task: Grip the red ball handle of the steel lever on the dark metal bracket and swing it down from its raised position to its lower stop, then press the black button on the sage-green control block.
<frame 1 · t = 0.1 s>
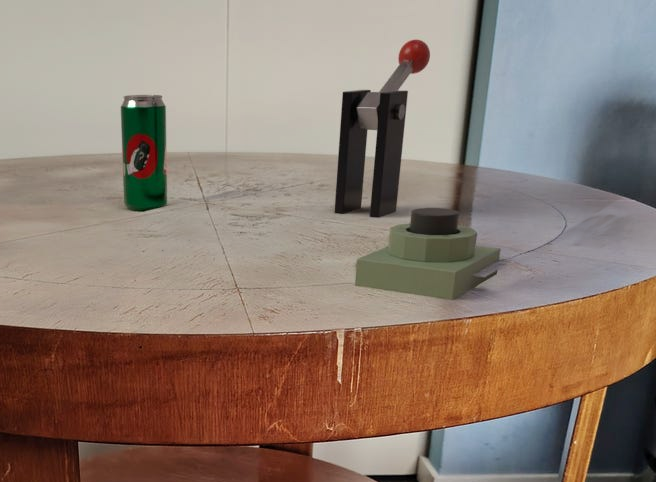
soda can: (145, 209, 106), on the table
bracket: (364, 224, 95), on the table
lever: (394, 82, 92), point 13 cm above the table, hinge at 28.0°
control block: (427, 281, 73), on the table
button: (433, 223, 70), point 5 cm above the table, slide at 0.2 cm
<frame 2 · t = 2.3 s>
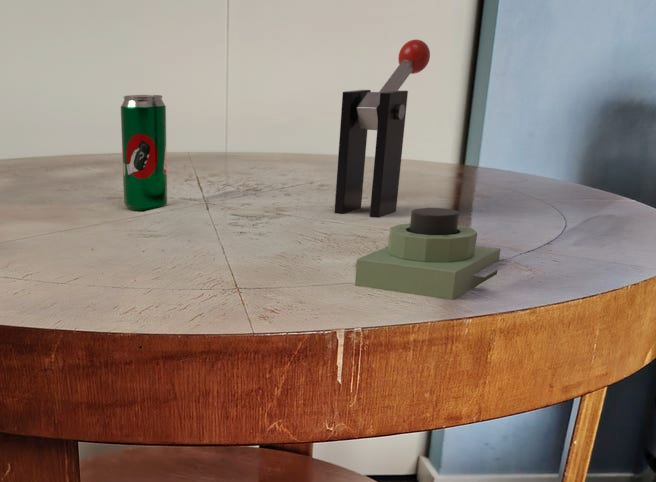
nothing on the table moved.
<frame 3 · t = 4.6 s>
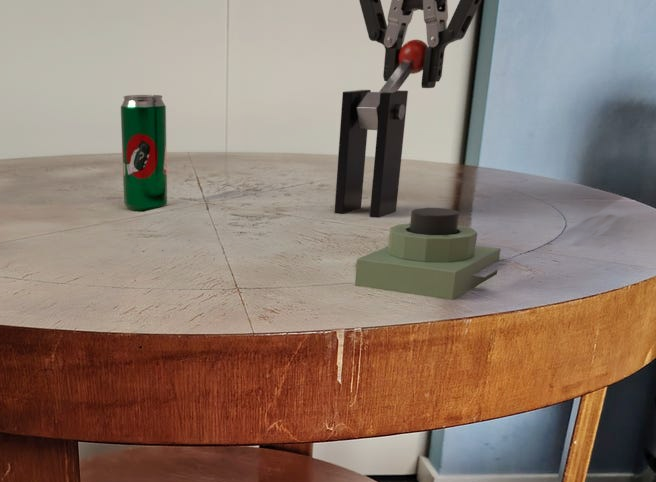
hand: (410, 86, 95), 13 cm above the table, tool pointing down, fingers closed on lever, 3 cm apart
lever: (394, 82, 92), point 13 cm above the table, hinge at 28.0°, touching gripper
everything else where it was.
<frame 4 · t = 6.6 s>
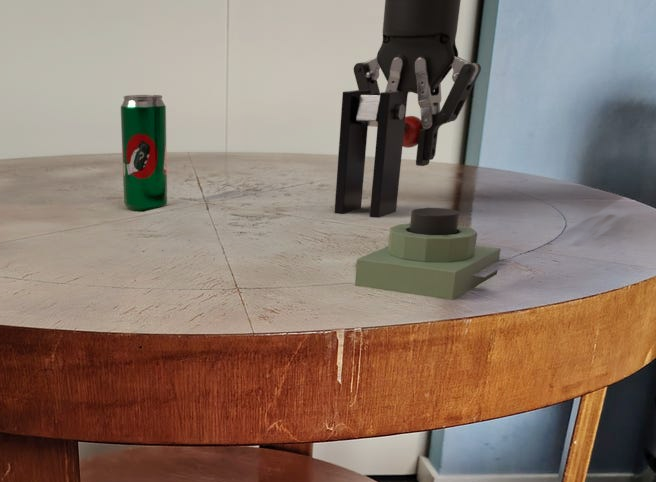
hand: (405, 163, 99), 5 cm above the table, tool pointing down, fingers closed on lever, 3 cm apart
lever: (392, 122, 94), point 10 cm above the table, hinge at -15.4°, touching gripper
everything else where it was.
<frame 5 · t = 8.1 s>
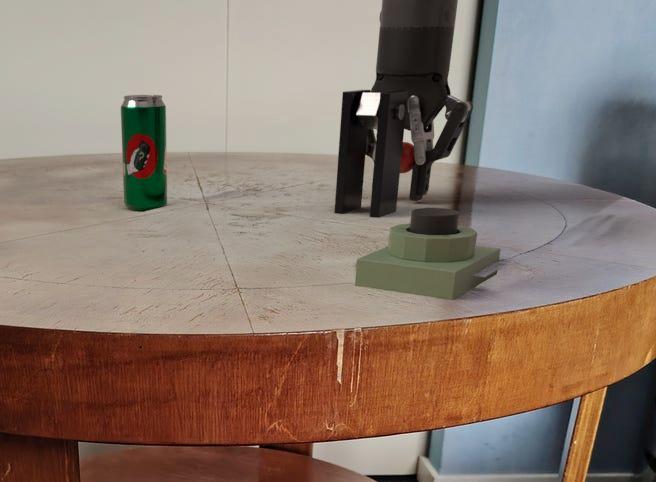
hand: (398, 197, 100), 2 cm above the table, tool pointing down, fingers open, 3 cm apart
lever: (389, 135, 94), point 8 cm above the table, hinge at -31.2°
everything else where it was.
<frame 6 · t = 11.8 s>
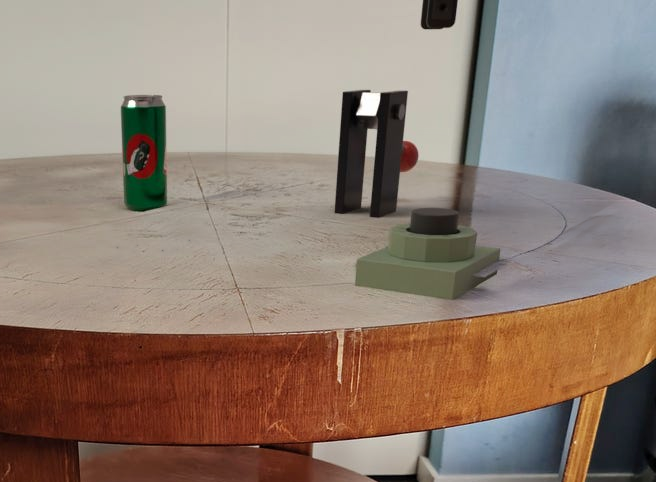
hand: (436, 28, 76), 18 cm above the table, tool pointing down, fingers open, 8 cm apart
lever: (389, 135, 94), point 8 cm above the table, hinge at -30.5°
everything else where it was.
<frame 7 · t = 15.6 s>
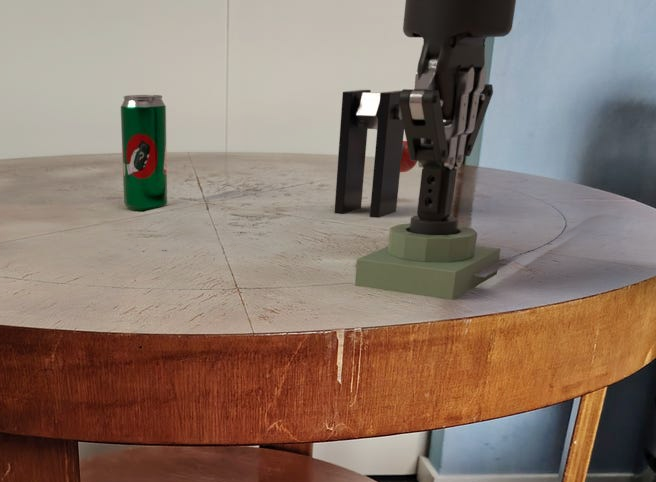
hand: (433, 218, 70), 5 cm above the table, tool pointing down, fingers closed
button: (433, 229, 71), point 4 cm above the table, slide at -0.4 cm, touching gripper
everything else where it was.
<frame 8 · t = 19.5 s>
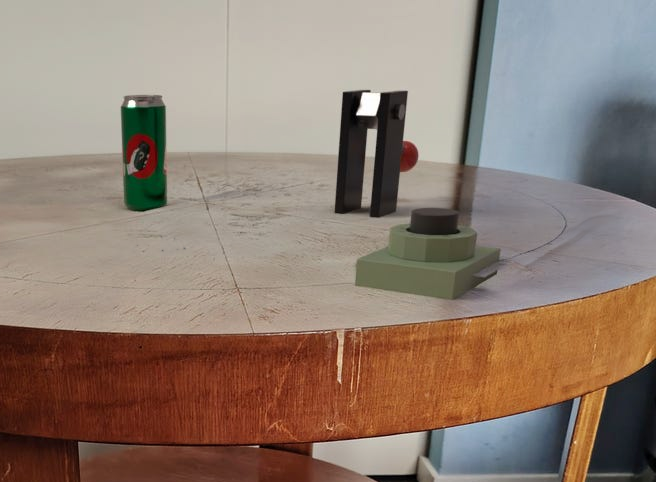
button: (433, 223, 70), point 5 cm above the table, slide at 0.2 cm
everything else where it was.
at the end: lever at -30° (first picture: +28°); button pushed in 1.1 cm at the most during the clip, back to 0.2 cm at the end; button slide at 0.2 cm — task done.
